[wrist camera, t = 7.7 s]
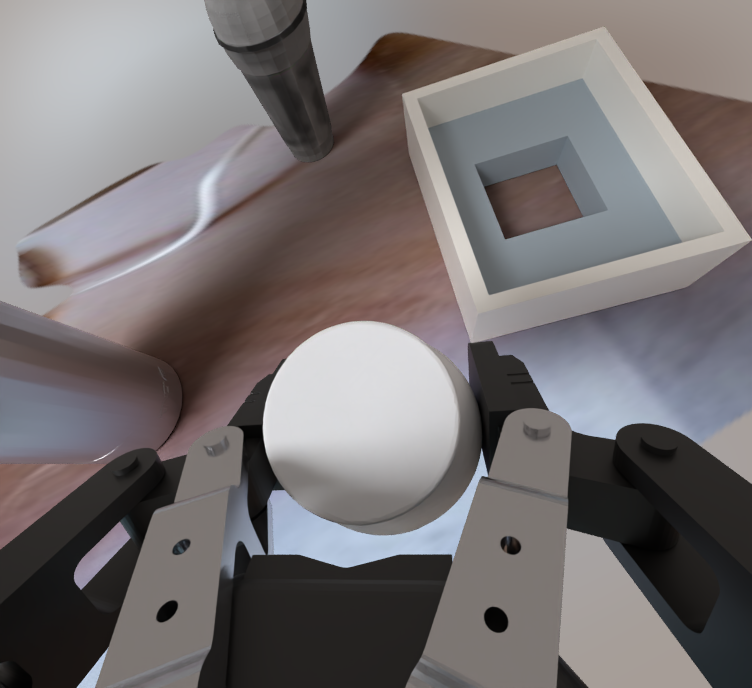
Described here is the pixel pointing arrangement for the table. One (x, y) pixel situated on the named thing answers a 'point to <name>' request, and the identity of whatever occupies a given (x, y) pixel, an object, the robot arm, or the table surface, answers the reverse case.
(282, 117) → the beverage cup
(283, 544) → the table surface
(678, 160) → the bore box
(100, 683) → the robot arm
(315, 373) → the pill bottle
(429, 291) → the table surface
